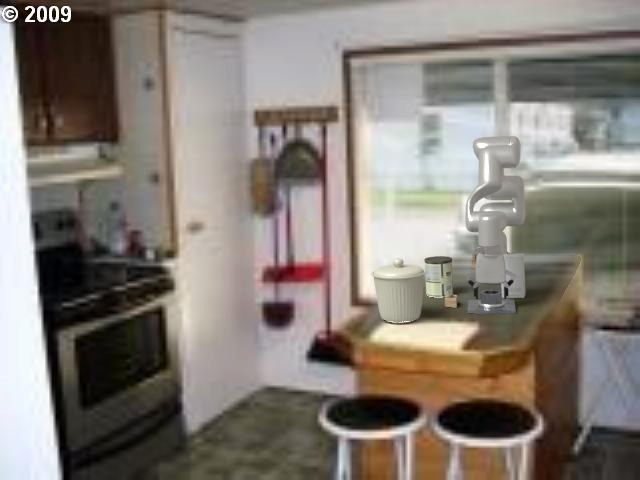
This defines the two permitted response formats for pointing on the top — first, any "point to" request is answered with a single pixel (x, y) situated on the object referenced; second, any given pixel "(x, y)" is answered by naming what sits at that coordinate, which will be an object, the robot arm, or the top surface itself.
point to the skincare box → (516, 266)
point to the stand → (451, 300)
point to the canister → (399, 291)
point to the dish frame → (475, 259)
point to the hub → (492, 307)
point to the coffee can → (438, 276)
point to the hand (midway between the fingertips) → (491, 298)
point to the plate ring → (491, 297)
